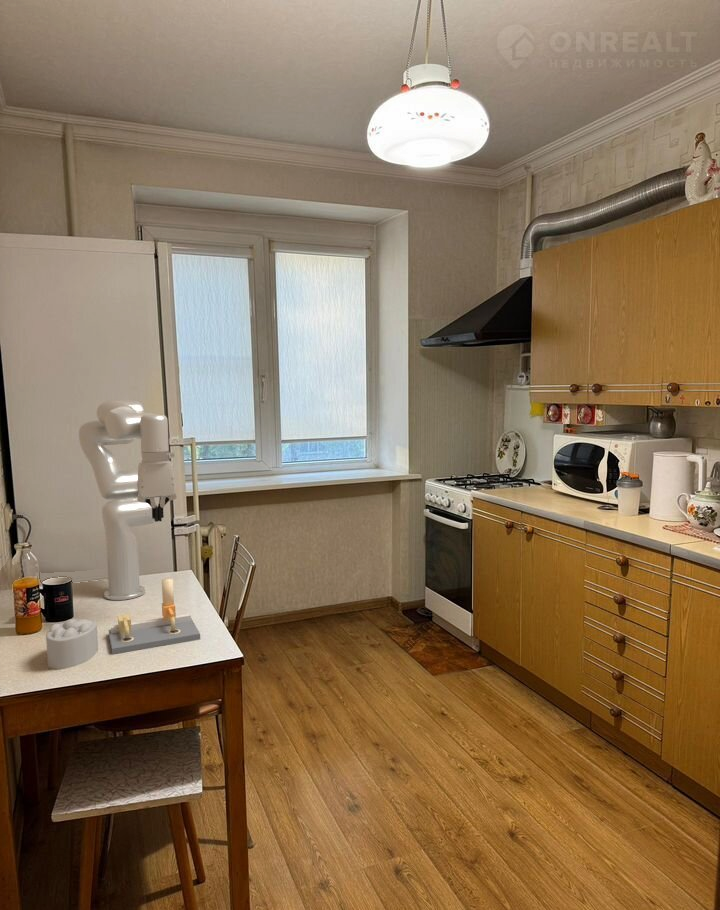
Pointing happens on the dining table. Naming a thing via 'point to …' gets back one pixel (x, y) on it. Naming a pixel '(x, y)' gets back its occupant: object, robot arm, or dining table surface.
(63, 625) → the lumpy-topped squat cylinder
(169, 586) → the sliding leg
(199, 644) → the dining table surface
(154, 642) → the plate
